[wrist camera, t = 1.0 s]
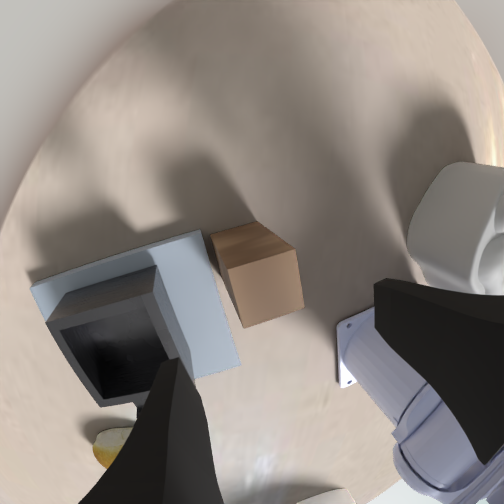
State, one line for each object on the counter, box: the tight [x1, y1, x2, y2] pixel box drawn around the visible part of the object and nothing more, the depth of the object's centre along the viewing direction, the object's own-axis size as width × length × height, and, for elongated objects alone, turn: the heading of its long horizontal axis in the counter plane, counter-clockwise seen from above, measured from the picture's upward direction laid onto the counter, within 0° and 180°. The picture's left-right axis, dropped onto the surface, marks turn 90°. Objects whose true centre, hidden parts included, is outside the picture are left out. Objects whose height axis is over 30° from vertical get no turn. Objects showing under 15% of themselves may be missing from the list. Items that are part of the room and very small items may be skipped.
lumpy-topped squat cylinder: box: [407, 162, 504, 295], centre depth 19 cm, size 10×13×9 cm
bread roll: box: [93, 427, 133, 469], centre depth 20 cm, size 8×9×4 cm
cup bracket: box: [45, 265, 196, 418], centre depth 15 cm, size 6×9×4 cm
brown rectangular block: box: [210, 221, 304, 328], centre depth 15 cm, size 3×3×6 cm
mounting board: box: [30, 229, 241, 379], centre depth 17 cm, size 12×10×1 cm
